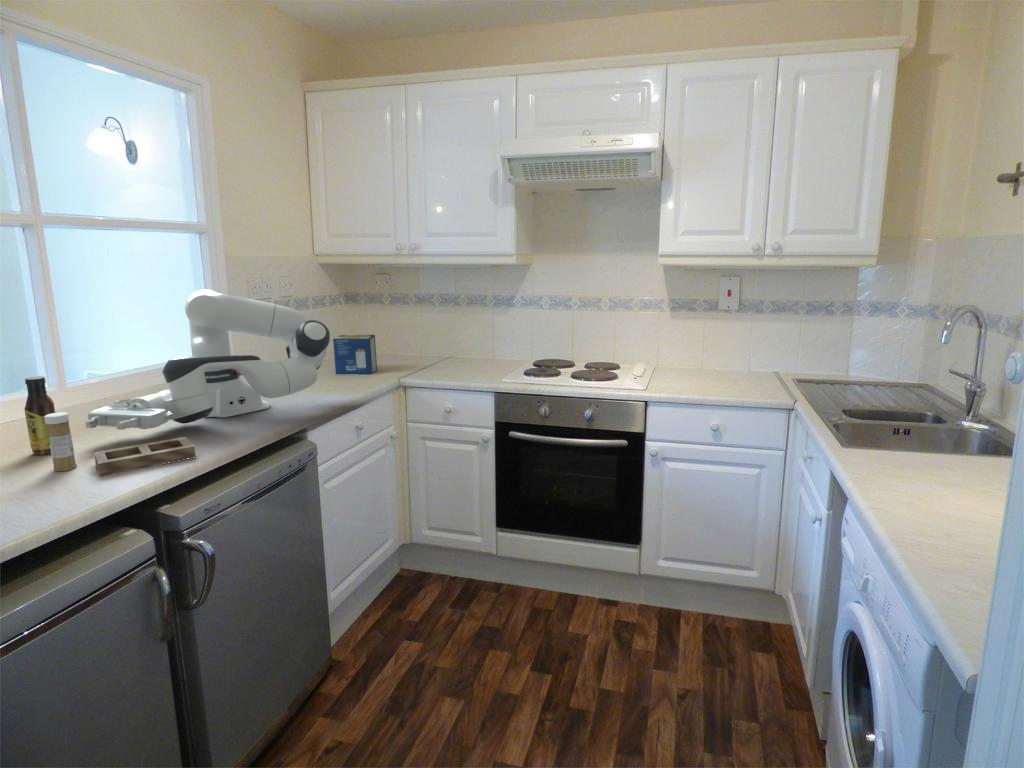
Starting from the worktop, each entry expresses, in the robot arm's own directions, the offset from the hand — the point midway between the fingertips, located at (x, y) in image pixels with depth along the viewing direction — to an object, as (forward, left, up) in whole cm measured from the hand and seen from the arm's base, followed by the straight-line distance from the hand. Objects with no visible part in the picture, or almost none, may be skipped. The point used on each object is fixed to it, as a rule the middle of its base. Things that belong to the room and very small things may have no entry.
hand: (103, 425), depth 158 cm
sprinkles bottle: (+9, +7, -7) cm, 14 cm away
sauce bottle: (+12, -12, -7) cm, 18 cm away
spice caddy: (-7, +14, -7) cm, 17 cm away
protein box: (-96, -63, -8) cm, 115 cm away
